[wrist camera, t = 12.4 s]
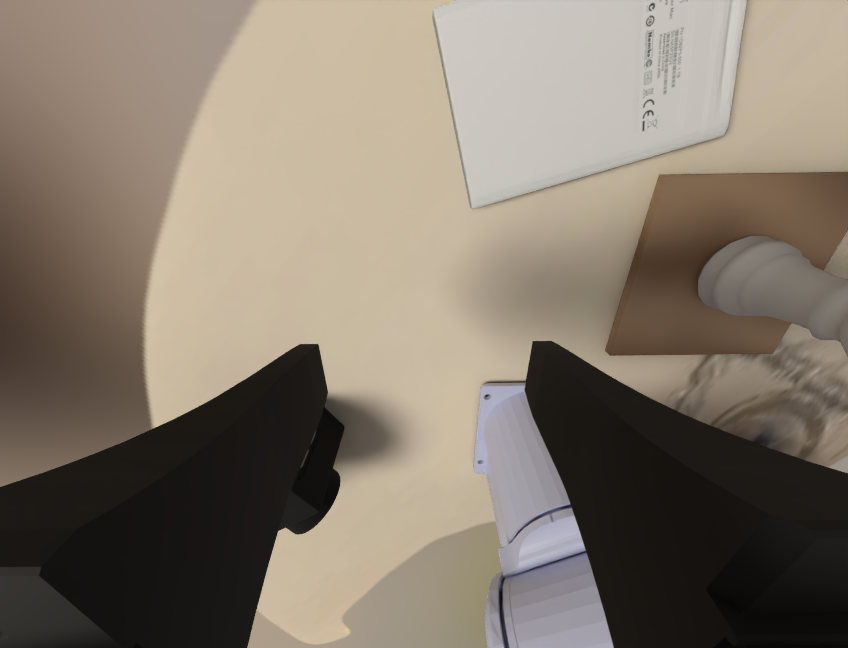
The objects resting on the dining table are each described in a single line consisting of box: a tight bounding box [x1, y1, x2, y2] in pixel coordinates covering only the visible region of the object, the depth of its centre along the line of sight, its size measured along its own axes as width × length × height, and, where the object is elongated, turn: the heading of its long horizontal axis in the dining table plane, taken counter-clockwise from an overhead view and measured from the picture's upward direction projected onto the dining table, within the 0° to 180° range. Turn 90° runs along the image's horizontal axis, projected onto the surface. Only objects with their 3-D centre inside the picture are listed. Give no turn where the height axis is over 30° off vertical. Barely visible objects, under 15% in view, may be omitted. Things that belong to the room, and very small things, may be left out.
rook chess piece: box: [698, 236, 848, 356], centre depth 15 cm, size 4×4×8 cm
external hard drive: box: [432, 0, 747, 209], centre depth 14 cm, size 2×8×12 cm
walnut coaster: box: [605, 172, 848, 356], centre depth 18 cm, size 11×11×1 cm
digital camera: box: [278, 407, 344, 534], centre depth 22 cm, size 10×5×7 cm, turn 124°
